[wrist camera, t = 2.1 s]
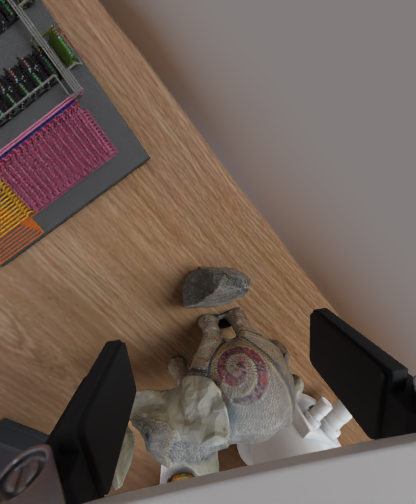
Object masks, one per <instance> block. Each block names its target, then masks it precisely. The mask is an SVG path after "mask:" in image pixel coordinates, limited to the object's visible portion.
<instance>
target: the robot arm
mask: <svg viewBox="0 0 416 504" xmlns="http://www.w3.org/2000/svg"><path fill="white" fill-rule="evenodd" d="M310 361H311V363H312V365H313V366H314V368H315V369H316V370H317V372H318V373H319V374H320V375H321V377H322V378H323V379H324V381H325V382H326V383H327V384H328V386H329V387H330V388H331V390H332V391H333V392H334V393H335V395H336V396H337V397H338V399H337V400H336V401H335V402H334V404H333V405H331V404H330V403H329V402H328V401H327V400H326V399H325V398H324V397H321V398H320V399H319V400H318V401H316V400H315V399H314V398H312V397H310V396H308V395H306V394H303V393H301V395H300V396H299V398H298V400H297V402H296V404H295V409H294V416H293V420H292V423H291V424H290V425H289V426H288V427H285V428H283V429H281V430H280V431H279V432H278V433H276V434H275V435H274V436H272V437H271V438H269V439H268V440H266V441H262V442H259V443H257V444H238V443H237V449H238V453H239V455H240V457H241V459H242V460H243V461H244V462H245V463H246V464H247V465H248V466H244V467H239V468H235V469H230V470H225V471H220V472H216V473H211V474H206V475H202V476H197V477H192V478H188V479H183V480H178V481H174V482H169V483H164V484H160V485H155V486H150V487H146V488H142V489H138V490H133V491H129V492H125V493H121V494H117V495H112V496H108V497H104V495H107V494H108V493H109V491H110V488H111V485H112V481H113V478H114V474H115V470H116V466H117V463H118V459H119V455H120V452H121V448H122V444H123V441H124V437H125V433H126V429H127V426H128V422H129V418H130V415H131V411H132V407H133V404H134V400H135V396H136V386H135V381H134V377H133V373H132V369H131V365H130V360H129V356H128V352H127V348H126V344H125V343H124V342H123V343H122V342H121V340H115V341H109V342H107V343H106V344H105V346H104V347H103V349H102V351H101V353H100V354H99V356H98V358H97V359H96V361H95V363H94V365H93V366H92V368H91V370H90V371H89V373H88V375H87V376H86V377H85V378H84V379H83V380H82V382H81V384H80V385H79V387H78V389H77V390H76V392H75V394H74V395H73V397H72V399H71V401H70V402H69V404H68V406H67V407H66V409H65V411H64V412H63V414H62V416H61V417H60V419H59V421H58V422H57V424H56V426H55V427H54V429H53V431H52V432H51V434H50V436H49V437H48V439H47V441H46V442H45V444H39V445H36V446H33V447H30V448H28V449H27V450H25V451H23V452H22V453H20V454H19V455H18V456H16V457H15V458H14V459H13V460H11V461H10V462H9V463H8V464H7V465H6V466H5V467H4V468H3V469H2V470H1V472H0V504H416V375H415V376H414V377H412V376H411V375H409V374H408V369H407V368H406V367H405V366H403V365H402V364H401V363H399V362H398V361H397V360H395V359H394V358H393V357H391V356H390V355H388V354H387V353H386V352H385V351H383V350H382V349H381V348H379V347H378V346H376V345H375V344H374V343H373V342H371V341H370V340H368V339H367V338H366V337H364V336H363V335H362V334H360V333H359V332H358V331H356V330H355V329H354V328H352V327H351V326H350V325H348V324H347V323H346V322H344V321H343V320H342V319H340V318H339V317H338V316H336V315H335V314H334V313H332V312H331V311H330V310H328V309H327V308H322V309H316V310H314V311H313V313H311V315H310ZM352 417H353V418H354V419H355V420H356V422H357V423H358V424H359V426H360V427H361V428H362V429H363V431H364V432H365V433H366V434H367V436H368V437H369V438H371V439H374V440H372V441H367V442H362V443H357V444H352V445H347V446H341V445H340V443H339V442H338V440H337V437H338V436H339V435H340V434H341V432H340V430H339V429H340V428H341V427H342V426H343V425H344V424H345V423H347V422H348V421H349V420H350V419H351V418H352Z"/></svg>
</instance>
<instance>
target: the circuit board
mask: <svg viewBox="0 0 416 504" xmlns="http://www.w3.org/2000/svg"><path fill="white" fill-rule="evenodd" d="M149 159H150V157H149V155H148V154H147V152H146V151H145V149H144V148H143V147H142V145H141V144H140V142H139V141H138V139H137V138H136V137H135V135H134V134H133V132H132V131H131V129H130V128H129V126H128V125H127V124H126V122H125V121H124V119H123V118H122V116H121V115H120V114H119V112H118V111H117V109H116V108H115V106H114V105H113V103H112V102H111V101H110V99H109V98H108V96H107V95H106V93H105V92H104V91H103V89H102V88H101V86H100V85H99V83H98V82H97V80H96V79H95V78H94V76H93V75H92V73H91V72H90V70H89V69H88V68H87V66H86V65H85V63H84V62H83V60H82V59H81V57H80V56H79V55H78V53H77V52H76V50H75V49H74V47H73V46H72V45H71V43H70V42H69V40H68V39H67V37H66V36H65V34H64V33H63V32H62V30H61V29H60V27H59V26H58V24H57V23H56V22H55V20H54V19H53V17H52V16H51V14H50V13H49V11H48V10H47V9H46V7H45V6H44V4H43V3H42V1H41V0H0V267H2V266H5V265H6V264H7V263H9V262H10V261H11V260H13V259H14V258H15V257H17V256H18V255H20V254H21V253H22V252H24V251H25V250H26V249H28V248H29V247H30V246H32V245H33V244H35V243H36V242H37V241H39V240H40V239H41V238H43V237H44V236H45V235H47V234H48V233H50V232H51V231H52V230H54V229H55V228H56V227H58V226H59V225H60V224H62V223H63V222H64V221H66V220H67V219H69V218H70V217H71V216H73V215H74V214H75V213H77V212H78V211H79V210H81V209H82V208H84V207H85V206H86V205H88V204H89V203H90V202H92V201H93V200H94V199H96V198H97V197H99V196H100V195H101V194H103V193H104V192H105V191H107V190H108V189H109V188H111V187H112V186H114V185H115V184H116V183H118V182H119V181H120V180H122V179H123V178H124V177H126V176H127V175H128V174H130V173H131V172H133V171H134V170H135V169H137V168H138V167H139V166H141V165H142V164H143V163H145V162H146V161H148V160H149Z"/></svg>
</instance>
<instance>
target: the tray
mask: <svg viewBox="0 0 416 504" xmlns="http://www.w3.org/2000/svg"><path fill="white" fill-rule="evenodd" d="M48 437H49V435H46V434H43V433H41V432H38V431H36V430H33V429H31V428H28V427H26V426H23V425H21V424H18V423H16V422H13V421H11V420H8V419H6V418H5V419H3V421H2V422H1V423H0V472H1V470H2V469H3V468H4V467H5V466H6V465H7V464H8V463H9V462H10V461H11V460H13V459H14V458H15V457H16V456H18V455H19V454H20V453H22V452H23V451H25V450H27V449H28V448H30V447H33V446H36V445H39V444H45V442H46V441H47V439H48Z"/></svg>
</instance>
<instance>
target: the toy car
mask: <svg viewBox="0 0 416 504" xmlns="http://www.w3.org/2000/svg"><path fill="white" fill-rule="evenodd" d="M197 476H198V475H197V474H196V473H195V472H194V470H192V469H189V468H187V467H185V466H184V465H182V464H180V463H176V464H174V465H173V466H172V467H170V468H166V467H165V466H163V465H162V464H161V475H160V484H164V483H169V482H174V481H178V480H183V479H188V478H192V477H197Z"/></svg>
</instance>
